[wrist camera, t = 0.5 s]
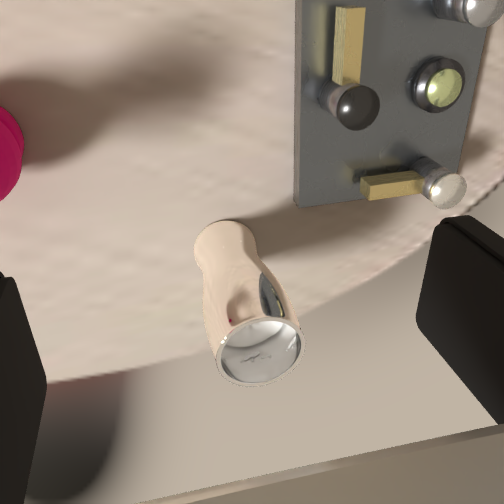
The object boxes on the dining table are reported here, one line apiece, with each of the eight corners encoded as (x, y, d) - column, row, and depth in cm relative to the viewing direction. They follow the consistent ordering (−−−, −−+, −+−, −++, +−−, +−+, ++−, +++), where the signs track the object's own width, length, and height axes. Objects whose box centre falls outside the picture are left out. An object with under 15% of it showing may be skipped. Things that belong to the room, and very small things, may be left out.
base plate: (295, -49, 34) (310, -50, 31) (491, -57, 36) (520, -59, 34) (293, 200, 44) (304, 215, 42) (444, 179, 47) (464, 192, 44)
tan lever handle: (353, 112, 39) (377, 128, 35) (317, 116, 39) (338, 133, 35) (361, 4, 35) (390, 8, 31) (321, 6, 34) (345, 11, 31)
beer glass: (269, 257, 47) (320, 362, 35) (208, 288, 47) (237, 402, 35) (242, 203, 43) (289, 299, 31) (175, 236, 44) (195, 345, 31)
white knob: (439, 154, 43) (469, 172, 40) (433, 186, 45) (462, 206, 41) (358, 165, 42) (381, 185, 38) (355, 197, 44) (377, 219, 40)
